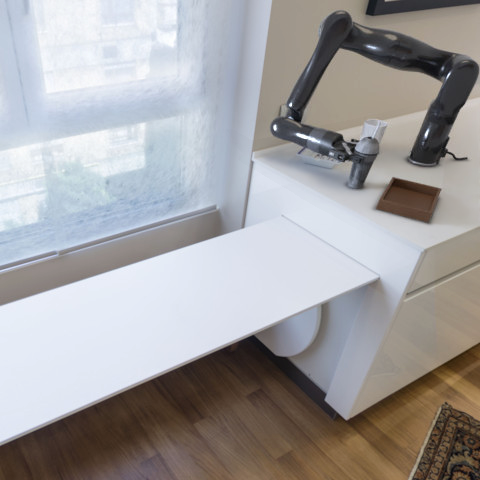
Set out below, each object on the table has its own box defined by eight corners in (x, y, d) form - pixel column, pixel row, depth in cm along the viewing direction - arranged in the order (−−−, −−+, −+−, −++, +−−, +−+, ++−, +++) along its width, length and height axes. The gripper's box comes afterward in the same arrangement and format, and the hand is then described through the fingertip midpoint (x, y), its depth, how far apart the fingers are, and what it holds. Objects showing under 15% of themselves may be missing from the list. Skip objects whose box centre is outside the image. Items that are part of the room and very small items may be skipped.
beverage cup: (339, 180, 146) (359, 118, 132) (360, 180, 146) (382, 117, 133) (348, 191, 140) (369, 126, 127) (370, 190, 141) (393, 126, 127)
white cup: (355, 152, 164) (364, 124, 157) (356, 144, 169) (365, 117, 162) (377, 155, 162) (387, 127, 155) (378, 148, 167) (387, 120, 160)
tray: (389, 185, 144) (392, 176, 142) (437, 197, 138) (441, 188, 136) (375, 208, 132) (379, 199, 130) (427, 222, 126) (432, 213, 124)
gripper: (315, 135, 138) (362, 151, 130) (339, 125, 145) (385, 139, 137) (309, 159, 143) (354, 175, 135) (333, 148, 151) (377, 162, 142)
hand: (369, 157), depth 136 cm, fingers open, 8 cm apart
